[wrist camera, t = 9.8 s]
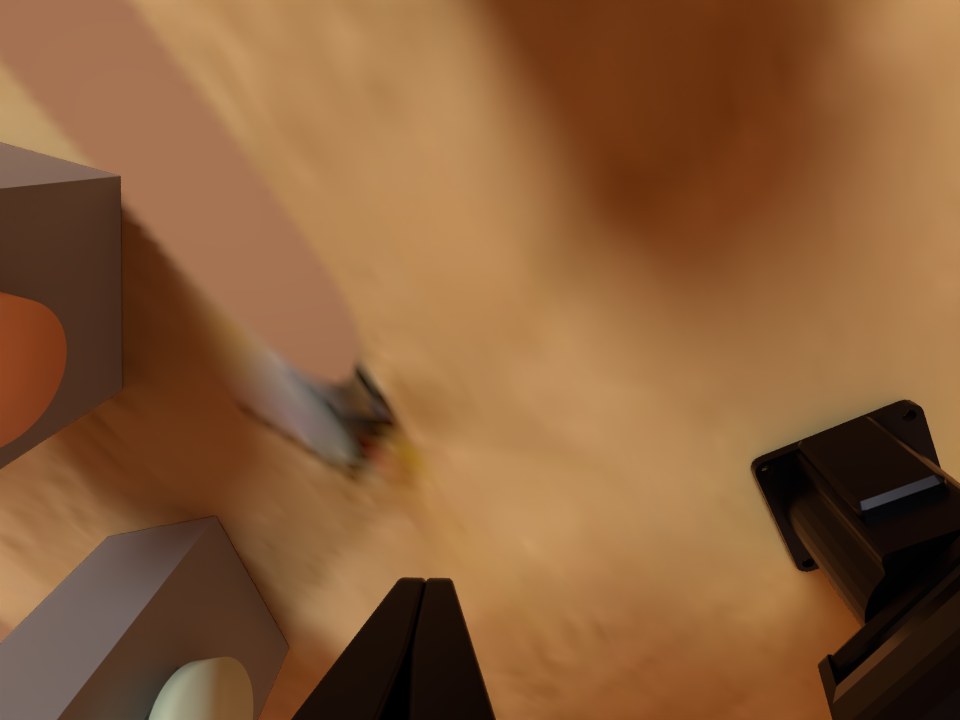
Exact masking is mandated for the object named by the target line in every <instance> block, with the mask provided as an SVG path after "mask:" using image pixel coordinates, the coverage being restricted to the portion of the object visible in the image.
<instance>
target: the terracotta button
mask: <svg viewBox="0 0 960 720" xmlns="http://www.w3.org/2000/svg"><path fill="white" fill-rule="evenodd" d="M66 356H67V345H66V338H65V334H64V330H63V328H62V325H61V323H60V321H59V320H58V318H57V317H56V315H55V314H54V313H53V312H52V311H51V310H50V309H49V308H47V307H46V306H44V305H43V304H41V303H38V302H36V301H33V300H29V299H26V298H22V297H18V296H14V295H10V294H7V293H3V292H0V447H3V446H5V445H6V444H8V443H10V442H12V441H13V440H15V439H16V438H18V437H19V436H21V435H22V434H23V433H24V432H26V431H27V430H28V429H29V428H30V427H31V426H32V425H33V424H34V423H35V422H36V421H37V420H38V419H39V418H40V416H41V415H42V414H43V413H44V411H45V410H46V409H47V407H48V406H49V404H50V403H51V401H52V399H53V398H54V396H55V394H56V392H57V390H58V387H59V385H60V382H61V380H62V377H63V373H64V369H65V364H66Z"/></svg>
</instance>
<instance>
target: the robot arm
mask: <svg viewBox="0 0 960 720" xmlns="http://www.w3.org/2000/svg"><path fill="white" fill-rule="evenodd" d="M906 411H909V412H908V414H907V415H905V416H903V414H904V413H905V412H906ZM766 466H769V468H768V469H767V470H764V471H762V469H763V468H764V467H766ZM751 469H752V472H753V474H754V476H755V479H756V481H757V483H758V485H759V488H760V490H761V492H762V494H763V496H764V499H765V501H766V503H767V505H768V507H769V510H770V512H771V514H772V516H773V518H774V521H775V523H776V525H777V527H778V529H779V532H780V534H781V536H782V538H783V540H784V543H785V545H786V547H787V549H788V551H789V554H790V556H791V558H792V560H793V562H794V563H795V565H796V566H797V568H798V569H799V570H801V571H805V572H808V571H812V570H815V569H818V568H820V569H821V570H822V572H823V573H824V575H825V576H826V578H827V579H828V580H829V582H830V583H831V585H832V586H833V587H834V589H835V590H836V592H837V593H838V594H839V596H840V597H841V599H842V600H843V602H844V603H845V604H846V606H847V607H848V609H849V610H850V611H851V613H852V614H853V616H854V617H855V618H856V620H857V621H858V623H859V624H860V626H861V627H862V628H861V629H860V630H859V631H858V632H856V633H855V634H854V635H853V636H852V637H851V638H850V639H849V640H848V641H847V642H846V643H845V644H844V645H843V646H842V647H841V648H840V649H839V650H837V651H836V652H835V653H834V654H833V655H830V654H828V655H827V656H826V657H825V658H824V659H823V660H822V661H821V662H820V663H819V664H818V668H819V672H820V675H821V679H822V683H823V686H824V690H825V694H826V697H827V701H828V705H829V708H830V712H831V716H832V719H833V720H960V483H959V482H957V481H956V480H955V479H953V478H952V477H951V476H950V475H948V474H947V473H946V472H944V471H943V470H942V469H941V467H940V464H939V461H938V458H937V454H936V451H935V448H934V444H933V441H932V438H931V434H930V431H929V428H928V424H927V421H926V418H925V415H924V411H923V409H922V408H921V407H920V406H919V405H917V404H916V403H914V402H912V401H911V400H901V401H898V402H895V403H893V404H890V405H888V406H885V407H883V408H880V409H878V410H875V411H873V412H870V413H868V414H865V415H863V416H860V417H858V418H855V419H853V420H850V421H848V422H845V423H843V424H840V425H838V426H835V427H833V428H830V429H828V430H825V431H823V432H820V433H818V434H815V435H813V436H810V437H808V438H805V439H803V440H800V441H798V442H795V443H793V444H790V445H788V446H785V447H783V448H780V449H778V450H775V451H772V452H770V453H767V454H765V455H762V456H760V457H758V458H756V459H755V460H754V461H753V462H752V465H751ZM806 559H807V560H806ZM804 560H805V561H804ZM291 720H496V718H495V715H494V712H493V709H492V705H491V702H490V699H489V696H488V693H487V689H486V686H485V683H484V680H483V676H482V673H481V670H480V667H479V664H478V660H477V657H476V654H475V651H474V648H473V644H472V641H471V638H470V635H469V632H468V628H467V625H466V622H465V619H464V616H463V612H462V609H461V606H460V603H459V600H458V596H457V593H456V590H455V587H454V584H453V581H452V580H451V579H450V578H429V579H427V581H425V579H423V578H407V577H404V578H401V579H399V580H398V581H397V582H396V584H395V585H394V586H393V588H392V589H391V590H390V592H389V593H388V594H387V595H386V597H385V598H384V599H383V601H382V602H381V603H380V605H379V606H378V607H377V608H376V610H375V611H374V612H373V614H372V615H371V616H370V618H369V619H368V620H367V621H366V623H365V624H364V625H363V627H362V628H361V629H360V631H359V632H358V633H357V634H356V636H355V637H354V638H353V640H352V641H351V642H350V644H349V645H348V646H347V647H346V649H345V650H344V651H343V653H342V654H341V655H340V657H339V658H338V659H337V660H336V662H335V663H334V664H333V666H332V667H331V668H330V670H329V671H328V672H327V673H326V675H325V676H324V677H323V679H322V680H321V681H320V683H319V684H318V685H317V687H316V688H315V689H314V690H313V692H312V693H311V694H310V696H309V697H308V698H307V700H306V701H305V702H304V703H303V705H302V706H301V707H300V709H299V710H298V711H297V713H296V714H295V715H294V716H293V718H292V719H291Z"/></svg>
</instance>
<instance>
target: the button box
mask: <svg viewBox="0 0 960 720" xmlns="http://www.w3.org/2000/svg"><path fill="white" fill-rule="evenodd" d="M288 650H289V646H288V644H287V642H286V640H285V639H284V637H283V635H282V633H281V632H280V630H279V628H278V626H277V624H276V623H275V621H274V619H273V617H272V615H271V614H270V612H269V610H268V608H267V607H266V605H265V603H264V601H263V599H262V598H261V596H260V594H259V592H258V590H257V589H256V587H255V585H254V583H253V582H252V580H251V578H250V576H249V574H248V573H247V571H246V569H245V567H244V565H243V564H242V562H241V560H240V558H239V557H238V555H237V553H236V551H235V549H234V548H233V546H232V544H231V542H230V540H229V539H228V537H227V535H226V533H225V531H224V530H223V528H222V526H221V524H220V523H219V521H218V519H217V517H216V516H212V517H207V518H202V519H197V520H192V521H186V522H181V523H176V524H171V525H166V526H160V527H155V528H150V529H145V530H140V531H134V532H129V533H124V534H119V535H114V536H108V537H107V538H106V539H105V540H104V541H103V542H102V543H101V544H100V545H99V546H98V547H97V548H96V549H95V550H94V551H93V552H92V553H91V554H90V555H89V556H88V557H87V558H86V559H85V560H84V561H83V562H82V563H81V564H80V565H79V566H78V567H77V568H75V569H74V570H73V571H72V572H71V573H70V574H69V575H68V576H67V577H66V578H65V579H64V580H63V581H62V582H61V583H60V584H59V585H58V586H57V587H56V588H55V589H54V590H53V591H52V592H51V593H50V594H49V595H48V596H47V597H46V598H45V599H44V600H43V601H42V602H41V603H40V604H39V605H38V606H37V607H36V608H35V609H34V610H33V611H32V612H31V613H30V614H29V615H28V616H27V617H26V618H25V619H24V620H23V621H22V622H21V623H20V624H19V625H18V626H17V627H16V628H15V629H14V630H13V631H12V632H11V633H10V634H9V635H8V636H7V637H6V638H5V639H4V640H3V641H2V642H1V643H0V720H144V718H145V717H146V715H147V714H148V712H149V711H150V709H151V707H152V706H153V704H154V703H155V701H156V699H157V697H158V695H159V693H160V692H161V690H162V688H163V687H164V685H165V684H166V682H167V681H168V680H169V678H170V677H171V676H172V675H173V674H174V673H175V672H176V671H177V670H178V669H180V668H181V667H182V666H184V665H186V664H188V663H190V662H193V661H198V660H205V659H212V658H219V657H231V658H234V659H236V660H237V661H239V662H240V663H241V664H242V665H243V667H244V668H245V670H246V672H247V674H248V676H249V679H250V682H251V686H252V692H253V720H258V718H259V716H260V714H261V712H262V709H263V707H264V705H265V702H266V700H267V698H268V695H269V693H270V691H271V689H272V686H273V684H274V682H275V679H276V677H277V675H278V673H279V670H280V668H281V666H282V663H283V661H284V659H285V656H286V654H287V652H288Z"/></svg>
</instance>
